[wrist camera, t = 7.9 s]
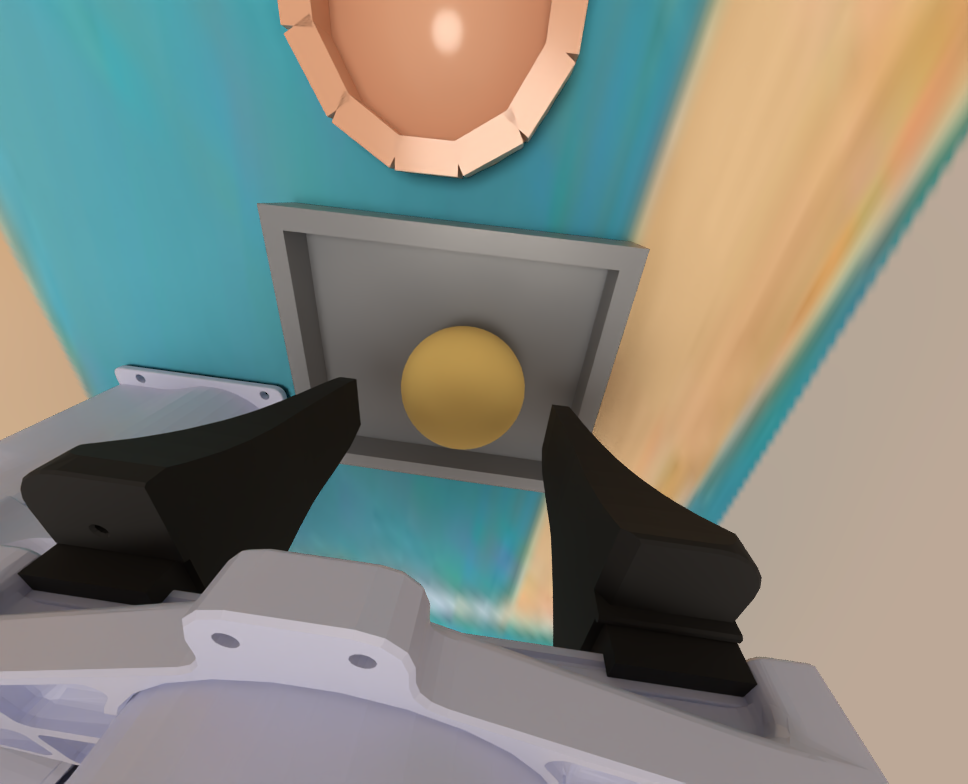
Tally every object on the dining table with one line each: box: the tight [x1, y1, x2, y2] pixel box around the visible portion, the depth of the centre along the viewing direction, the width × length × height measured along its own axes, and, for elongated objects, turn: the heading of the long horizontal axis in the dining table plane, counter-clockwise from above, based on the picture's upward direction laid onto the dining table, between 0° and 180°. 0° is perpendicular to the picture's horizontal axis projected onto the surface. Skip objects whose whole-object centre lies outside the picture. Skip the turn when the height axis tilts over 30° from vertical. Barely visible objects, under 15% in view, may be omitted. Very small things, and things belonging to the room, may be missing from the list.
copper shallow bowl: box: [278, 0, 588, 179], centre depth 10 cm, size 9×9×2 cm
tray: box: [257, 203, 650, 493], centre depth 16 cm, size 14×12×2 cm
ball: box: [401, 326, 525, 450], centre depth 14 cm, size 5×5×5 cm
